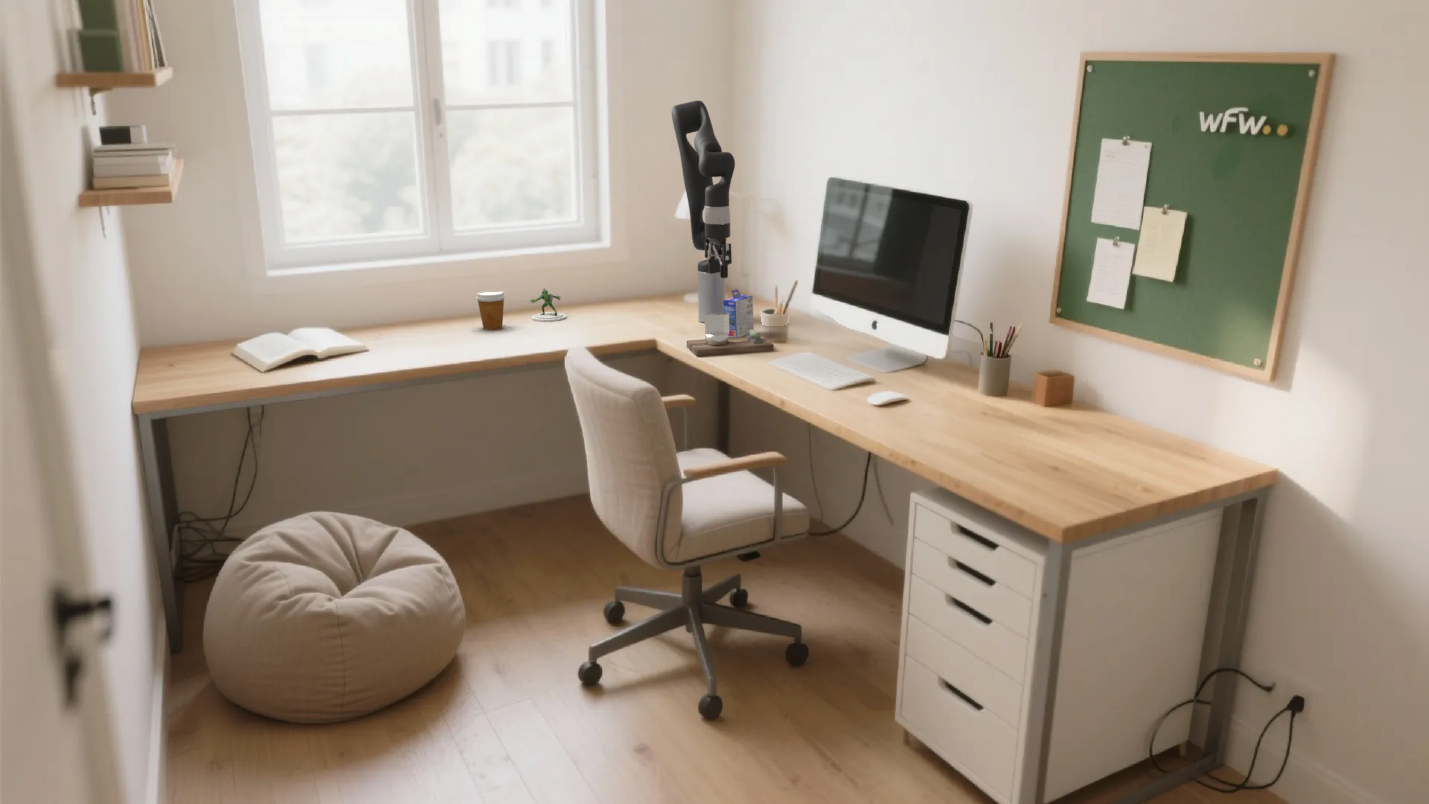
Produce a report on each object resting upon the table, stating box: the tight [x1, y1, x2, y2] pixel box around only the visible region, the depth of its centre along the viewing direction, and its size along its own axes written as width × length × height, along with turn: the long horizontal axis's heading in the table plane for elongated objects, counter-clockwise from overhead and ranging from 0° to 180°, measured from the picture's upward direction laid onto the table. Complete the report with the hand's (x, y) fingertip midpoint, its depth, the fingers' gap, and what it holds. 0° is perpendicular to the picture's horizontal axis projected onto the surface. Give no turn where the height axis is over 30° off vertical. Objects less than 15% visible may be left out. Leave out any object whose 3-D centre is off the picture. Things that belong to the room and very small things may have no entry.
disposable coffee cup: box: [475, 290, 506, 331], centre depth 372 cm, size 10×10×12 cm
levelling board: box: [686, 329, 775, 358], centre depth 339 cm, size 13×24×5 cm, turn 105°
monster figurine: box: [529, 287, 567, 323], centre depth 386 cm, size 12×12×10 cm
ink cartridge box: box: [723, 288, 755, 338], centre depth 357 cm, size 10×6×14 cm, turn 144°
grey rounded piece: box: [704, 313, 729, 346], centre depth 337 cm, size 7×7×9 cm
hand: (718, 275), depth 333 cm, fingers open, 8 cm apart
